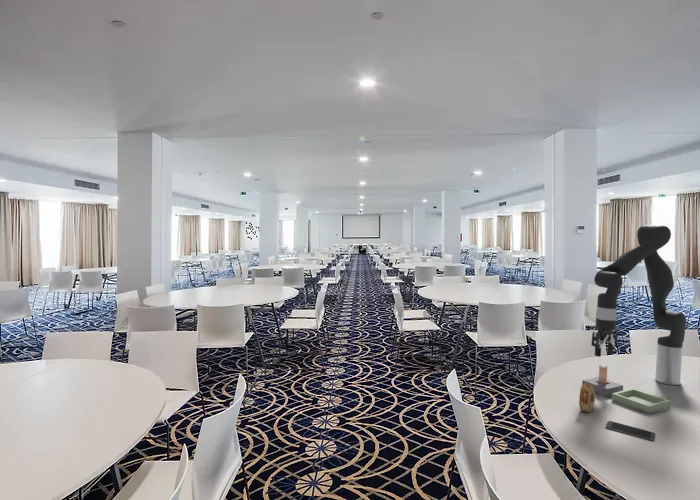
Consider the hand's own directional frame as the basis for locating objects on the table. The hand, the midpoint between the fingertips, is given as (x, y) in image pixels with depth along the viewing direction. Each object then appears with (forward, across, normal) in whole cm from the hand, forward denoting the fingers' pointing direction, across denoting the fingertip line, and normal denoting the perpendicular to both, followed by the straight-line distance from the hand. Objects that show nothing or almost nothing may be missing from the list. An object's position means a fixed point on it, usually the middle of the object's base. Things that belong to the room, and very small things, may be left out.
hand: (603, 355), depth 180 cm
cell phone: (+16, +28, +27) cm, 42 cm away
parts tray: (+16, 0, +16) cm, 22 cm away
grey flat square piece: (+16, 0, 0) cm, 16 cm away
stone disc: (+16, +26, +10) cm, 32 cm away
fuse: (+16, 0, 0) cm, 16 cm away
